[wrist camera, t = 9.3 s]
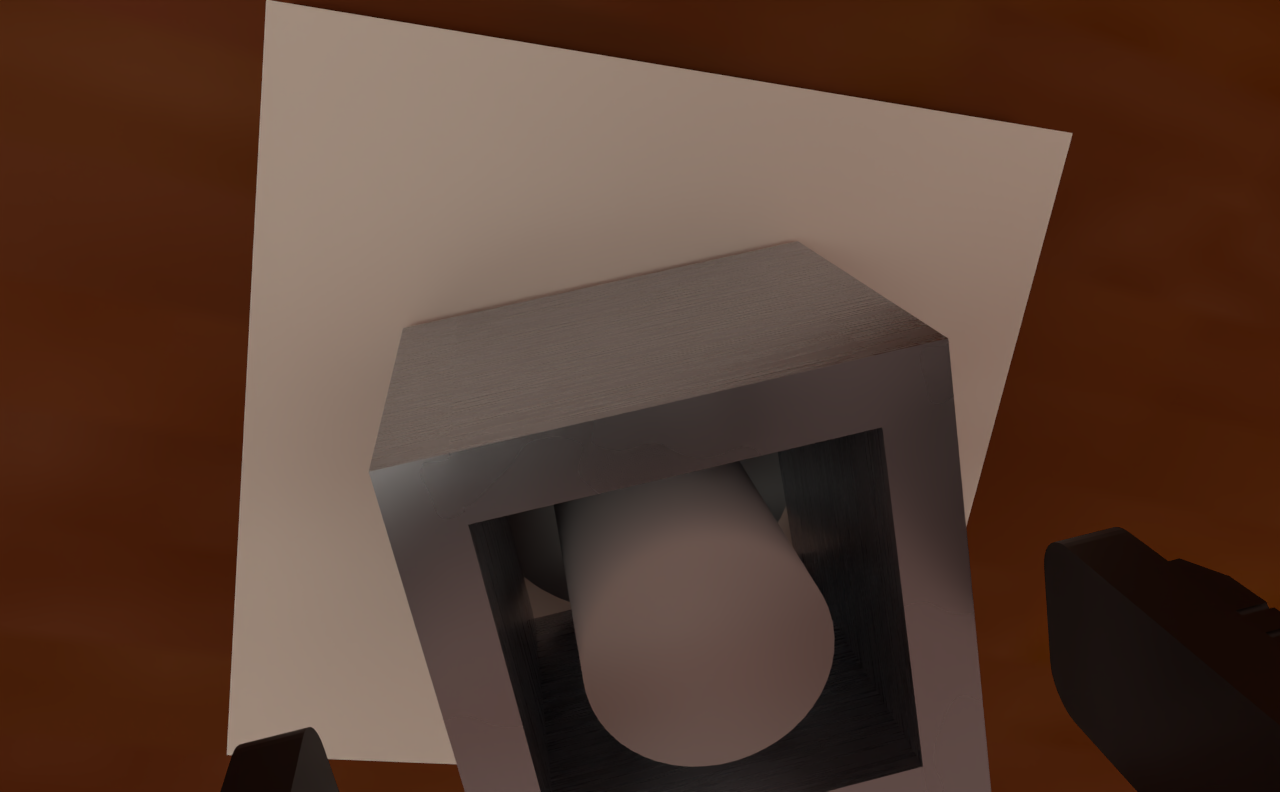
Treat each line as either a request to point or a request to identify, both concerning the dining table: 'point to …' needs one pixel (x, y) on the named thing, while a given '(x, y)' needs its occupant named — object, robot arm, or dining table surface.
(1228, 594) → the robot arm
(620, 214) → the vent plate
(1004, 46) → the dining table surface
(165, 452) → the dining table surface
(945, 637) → the collar
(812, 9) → the dining table surface
